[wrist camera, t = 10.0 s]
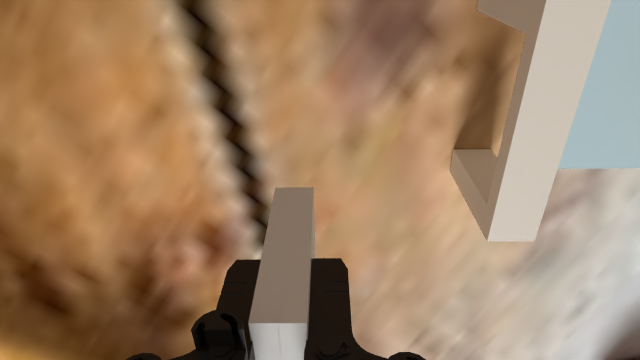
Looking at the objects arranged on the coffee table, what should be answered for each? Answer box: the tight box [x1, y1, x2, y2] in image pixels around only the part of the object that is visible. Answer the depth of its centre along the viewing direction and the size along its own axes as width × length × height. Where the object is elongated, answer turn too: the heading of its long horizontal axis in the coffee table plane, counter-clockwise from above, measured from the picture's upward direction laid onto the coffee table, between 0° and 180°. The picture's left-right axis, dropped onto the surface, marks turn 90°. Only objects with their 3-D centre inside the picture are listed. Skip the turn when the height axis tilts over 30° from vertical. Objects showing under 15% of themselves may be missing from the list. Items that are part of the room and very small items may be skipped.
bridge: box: [450, 0, 612, 241], centre depth 27 cm, size 3×14×9 cm, turn 1°
